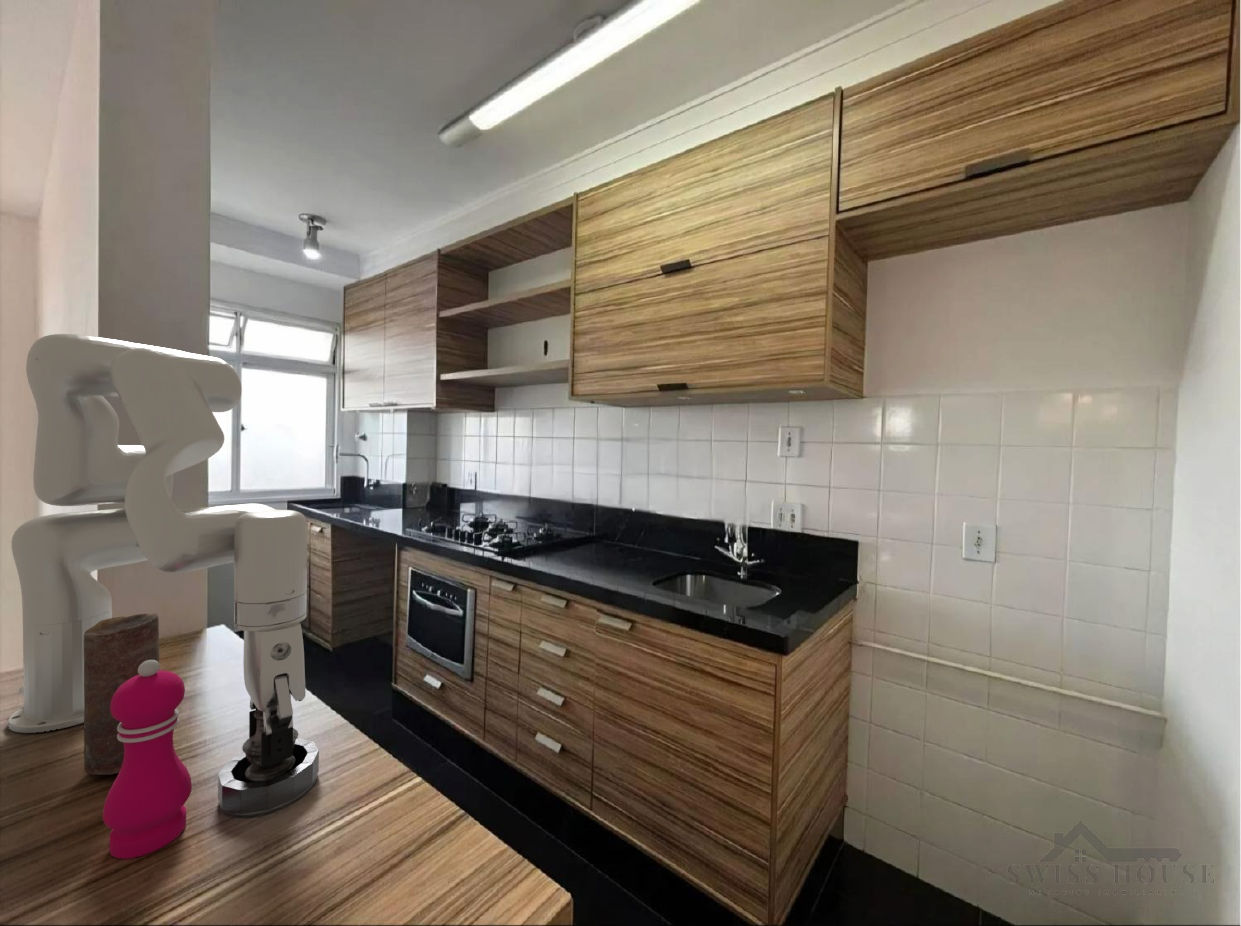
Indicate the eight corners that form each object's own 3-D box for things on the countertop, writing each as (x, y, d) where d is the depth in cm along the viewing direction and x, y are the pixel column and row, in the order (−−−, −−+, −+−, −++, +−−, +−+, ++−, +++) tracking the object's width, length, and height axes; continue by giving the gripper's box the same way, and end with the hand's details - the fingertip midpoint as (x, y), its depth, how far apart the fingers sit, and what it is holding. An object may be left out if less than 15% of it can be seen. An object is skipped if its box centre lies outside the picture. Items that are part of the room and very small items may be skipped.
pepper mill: (184, 804, 62) (184, 642, 61) (198, 835, 57) (199, 660, 56) (98, 838, 56) (97, 660, 55) (107, 876, 52) (106, 682, 51)
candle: (135, 781, 65) (134, 628, 64) (66, 788, 64) (64, 631, 63) (173, 746, 73) (173, 608, 72) (112, 751, 71) (111, 610, 70)
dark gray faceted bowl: (197, 807, 61) (197, 779, 61) (274, 757, 71) (274, 733, 71) (265, 826, 59) (266, 796, 59) (335, 771, 69) (335, 746, 68)
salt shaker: (270, 786, 61) (270, 689, 61) (229, 778, 63) (230, 682, 62) (309, 757, 67) (310, 667, 67) (271, 750, 68) (272, 662, 68)
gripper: (326, 620, 61) (324, 767, 61) (287, 588, 73) (286, 712, 73) (249, 636, 55) (249, 797, 56) (221, 598, 67) (221, 732, 68)
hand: (270, 747), depth 65 cm, fingers closed on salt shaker, 5 cm apart
